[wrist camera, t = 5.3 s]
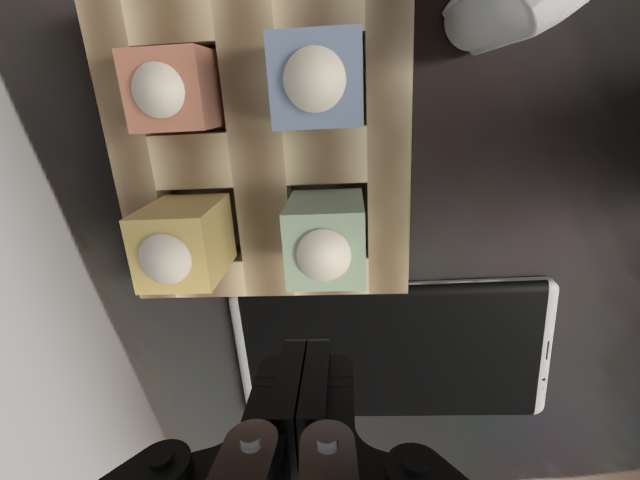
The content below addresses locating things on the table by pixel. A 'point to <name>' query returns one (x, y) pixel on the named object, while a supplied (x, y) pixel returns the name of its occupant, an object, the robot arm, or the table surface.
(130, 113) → the button
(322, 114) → the button
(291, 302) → the smartphone
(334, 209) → the button
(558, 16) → the photo printer
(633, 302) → the table surface
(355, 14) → the board
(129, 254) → the button
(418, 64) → the table surface
